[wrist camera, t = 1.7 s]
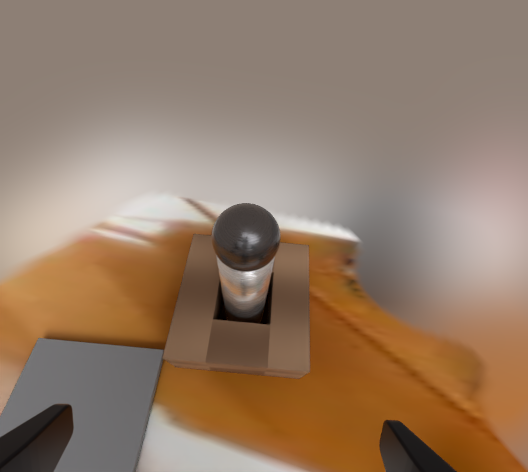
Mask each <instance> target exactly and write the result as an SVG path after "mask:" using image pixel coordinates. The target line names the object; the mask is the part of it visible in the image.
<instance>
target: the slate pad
mask: <svg viewBox="0 0 528 472" xmlns="http://www.w3.org/2000/svg"><path fill="white" fill-rule="evenodd" d="M163 354H164V350H160V349H150V348H139V347H129V346H118V345H107V344H97V343H86V342H76V341H65V340H54V339H44V338H38V340H37V343H36V345H35V347H34V349H33V351H32V353H31V355H30V357H29V359H28V361H27V363H26V365H25V367H24V369H23V371H22V373H21V375H20V377H19V379H18V381H17V383H16V385H15V388H14V390H13V392H12V394H11V396H10V398H9V400H8V402H7V404H6V406H5V408H4V410H3V412H2V414H1V416H0V437H1V436H3V435H4V434H6V433H8V432H9V431H11V430H13V429H14V428H16V427H17V426H19V425H21V424H22V423H24V422H26V421H27V420H29V419H30V418H32V417H34V416H35V415H37V414H39V413H40V412H42V411H43V410H45V409H47V408H48V407H50V406H52V405H54V404H57V403H58V404H70V405H71V406H72V412H73V423H74V430H73V434H72V437H71V439H70V441H69V443H68V445H67V447H66V449H65V451H64V453H63V455H62V457H61V459H60V460H59V462H58V464H57V466H56V468H55V470H54V472H135V471H136V467H137V463H138V459H139V455H140V451H141V447H142V443H143V439H144V435H145V431H146V427H147V423H148V419H149V415H150V411H151V407H152V403H153V399H154V395H155V391H156V387H157V383H158V379H159V375H160V371H161V367H162V363H163Z"/></svg>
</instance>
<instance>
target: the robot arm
mask: <svg viewBox="0 0 528 472" xmlns="http://www.w3.org/2000/svg"><path fill="white" fill-rule="evenodd" d="M73 430H74V423H73V412H72V406H71V405H70V404H58V403H57V404H54V405H52V406H50V407H48V408H47V409H45V410H43V411H42V412H40V413H39V414H37V415H35V416H34V417H32V418H30V419H29V420H27V421H26V422H24V423H22V424H21V425H19V426H17V427H16V428H14V429H13V430H11V431H9V432H8V433H6V434H4V435H3V436H1V437H0V472H54V470H55V468H56V466H57V464H58V462H59V460H60V459H61V457H62V455H63V453H64V451H65V449H66V447H67V445H68V443H69V441H70V439H71V437H72V434H73ZM380 452H381V456H382V459H383V463H384V466H385V470H386V472H457V471H455V470H454V469H453V468H452V467H451V466H450V465H449V464H448V463H446V462H445V461H444V460H443V459H442V458H441V457H440V456H439V455H437V454H436V453H435V452H434V451H433V450H432V449H431V448H430V447H428V446H427V445H426V444H425V443H424V442H423V441H422V440H421V439H419V438H418V437H417V436H416V435H415V434H414V433H413V432H412V431H410V430H409V429H408V428H407V427H406V426H405V425H404V424H403V423H401V422H400V421H397V420H386V421H385V422H384V424H383V428H382V433H381V438H380Z"/></svg>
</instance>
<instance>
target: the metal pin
mask: <svg viewBox="0 0 528 472" xmlns="http://www.w3.org/2000/svg"><path fill="white" fill-rule="evenodd" d="M212 245H213V249H214V252H215V253H216V257H217V263H218V269H219V275H220V281H221V288H222V294H223V300H224V306H225V312H226V318H227V320H228V321H236V322H246V323H257V324H259V323H260V321H261V319H262V316H263V311H264V306H265V302H266V297H267V292H268V287H269V283H270V278H271V273H272V268H273V264H274V259H275V255H276V253H277V251H278V249H279V245H280V230H279V227H278V224H277V222H276V220H275V218H274V217H273V216H272V215H271V214H270V213H269V212H268V211H267V210H266V209H264V208H262V207H260V206H258V205H255V204H250V203H242V204H237V205H234V206H232V207H230V208H228V209H226V210H225V211H224V212H223V213H222V214H221V215H220V216H219V217H218V218H217V220H216V222H215V224H214V226H213V230H212Z"/></svg>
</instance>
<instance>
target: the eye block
mask: <svg viewBox="0 0 528 472" xmlns="http://www.w3.org/2000/svg"><path fill="white" fill-rule="evenodd" d="M268 292H269V303H268V317H267V324H257V323H246V322H236V321H226V320H220V314H221V308H222V301H223V294H222V288H221V281H220V275H219V269H218V263H217V257H216V253H215V252H214V249H213V245H212V236H211V235H201V234H194V235H193V239H192V243H191V247H190V251H189V255H188V259H187V263H186V267H185V271H184V275H183V278H182V282H181V286H180V290H179V294H178V298H177V302H176V306H175V310H174V314H173V318H172V322H171V326H170V330H169V334H168V338H167V342H166V346H165V350H164V354H163V359H165V360H166V361H167V362H169V363H170V364H172V365H173V366H175V367H178V368H189V369H200V370H210V371H221V372H232V373H243V374H253V375H264V376H275V377H285V378H296V379H299V378H301V377H303V376H304V375H306V374H307V373H309V372H310V320H309V245H301V244H291V243H281V242H280V245H279V249H278V251H277V253H276V255H275V259H274V264H273V268H272V273H271V278H270V283H269V287H268Z"/></svg>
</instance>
